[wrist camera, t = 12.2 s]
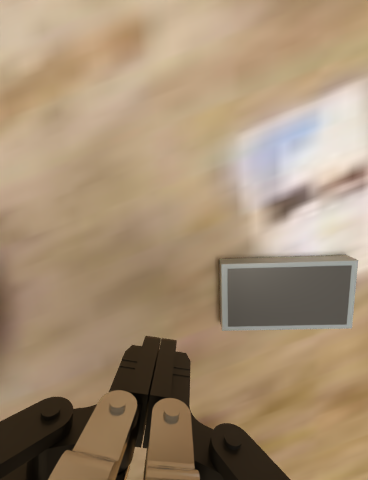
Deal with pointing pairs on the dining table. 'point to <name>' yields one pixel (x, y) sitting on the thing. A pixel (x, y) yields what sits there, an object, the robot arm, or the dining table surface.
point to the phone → (287, 292)
